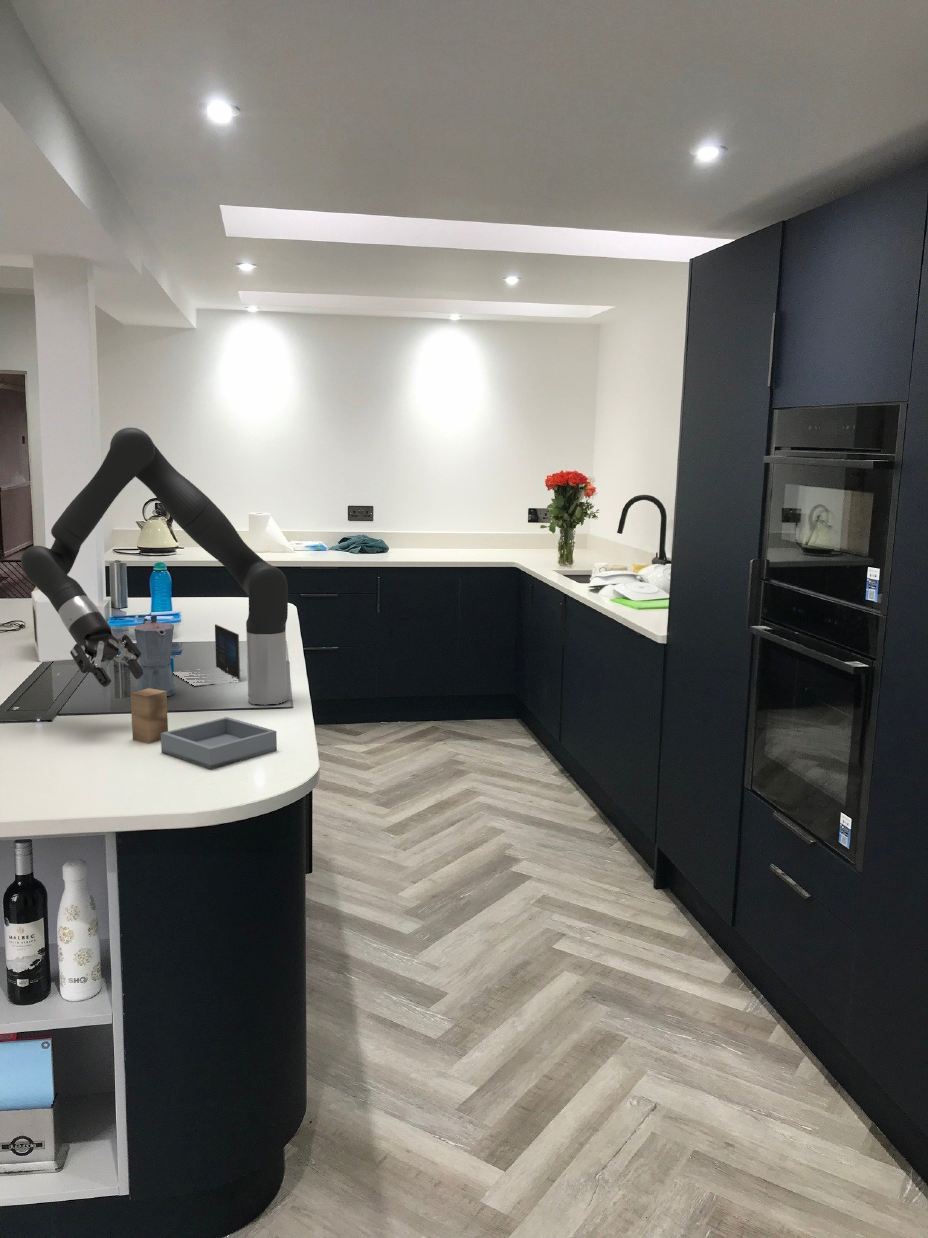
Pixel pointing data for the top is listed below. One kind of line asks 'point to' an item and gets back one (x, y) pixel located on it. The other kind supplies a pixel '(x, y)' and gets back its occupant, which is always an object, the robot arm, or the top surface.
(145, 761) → the top surface
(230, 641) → the laptop
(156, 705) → the walnut block
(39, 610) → the gable box
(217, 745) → the box
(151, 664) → the moka pot
